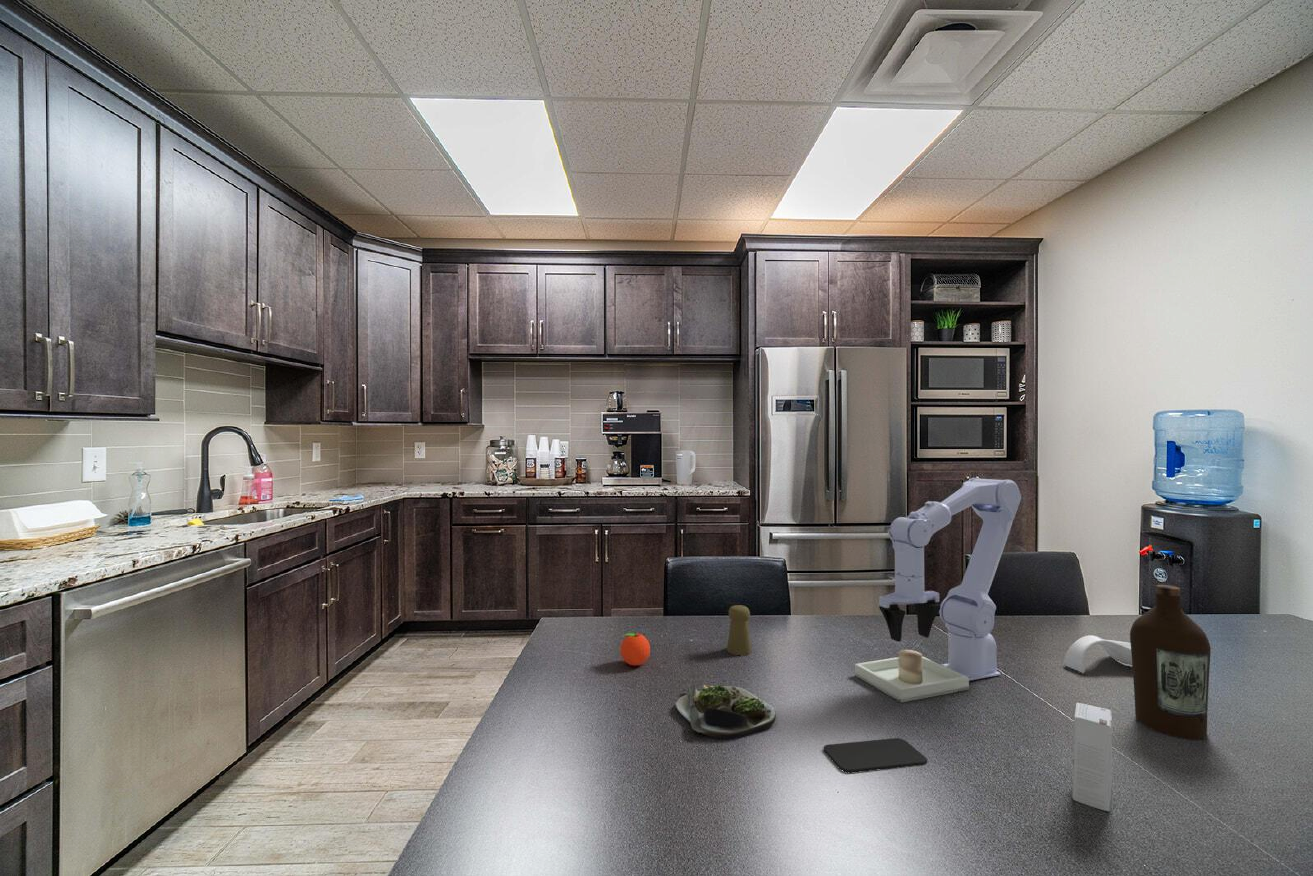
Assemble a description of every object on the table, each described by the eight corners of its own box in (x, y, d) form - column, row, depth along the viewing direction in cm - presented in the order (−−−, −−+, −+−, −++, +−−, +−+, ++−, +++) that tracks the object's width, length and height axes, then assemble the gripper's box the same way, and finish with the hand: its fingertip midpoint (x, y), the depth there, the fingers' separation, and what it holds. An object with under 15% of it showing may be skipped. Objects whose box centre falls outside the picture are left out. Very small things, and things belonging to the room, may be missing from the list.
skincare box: (1074, 781, 82) (1073, 700, 82) (1113, 793, 79) (1111, 709, 79) (1071, 801, 77) (1070, 715, 78) (1113, 815, 74) (1111, 725, 75)
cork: (751, 656, 131) (751, 610, 131) (726, 654, 132) (725, 609, 132) (752, 647, 137) (752, 603, 137) (727, 646, 138) (727, 602, 138)
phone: (931, 761, 86) (843, 770, 84) (931, 767, 86) (843, 776, 84) (901, 737, 94) (820, 745, 91) (901, 742, 94) (820, 750, 91)
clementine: (610, 667, 125) (610, 635, 125) (623, 656, 131) (623, 626, 131) (642, 672, 122) (643, 640, 122) (654, 661, 128) (654, 630, 128)
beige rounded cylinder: (910, 674, 119) (910, 648, 120) (927, 682, 115) (927, 656, 115) (893, 676, 118) (893, 651, 118) (910, 685, 114) (909, 659, 114)
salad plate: (653, 701, 108) (653, 678, 108) (729, 684, 116) (729, 662, 116) (703, 750, 91) (703, 722, 91) (788, 726, 99) (788, 701, 99)
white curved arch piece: (1128, 653, 134) (1127, 624, 134) (1184, 673, 122) (1183, 641, 122) (1049, 662, 128) (1049, 631, 129) (1100, 683, 117) (1100, 649, 117)
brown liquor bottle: (1119, 708, 105) (1117, 577, 106) (1188, 716, 102) (1186, 582, 102) (1150, 736, 95) (1148, 591, 95) (1227, 746, 92) (1225, 596, 92)
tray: (917, 665, 126) (917, 654, 126) (969, 689, 113) (968, 677, 113) (854, 675, 120) (854, 664, 120) (901, 702, 107) (901, 689, 107)
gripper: (896, 581, 111) (897, 648, 111) (950, 575, 116) (951, 640, 115) (872, 573, 118) (872, 637, 117) (924, 568, 122) (924, 629, 122)
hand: (909, 638), depth 117 cm, fingers open, 7 cm apart
